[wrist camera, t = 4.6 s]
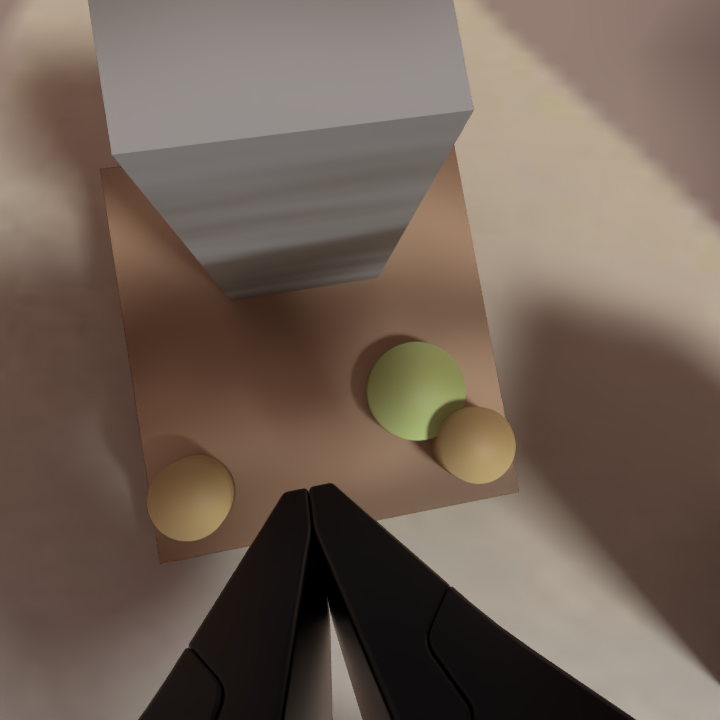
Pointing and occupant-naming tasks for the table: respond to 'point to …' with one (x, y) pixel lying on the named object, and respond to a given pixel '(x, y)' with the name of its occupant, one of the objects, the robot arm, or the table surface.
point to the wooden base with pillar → (296, 260)
